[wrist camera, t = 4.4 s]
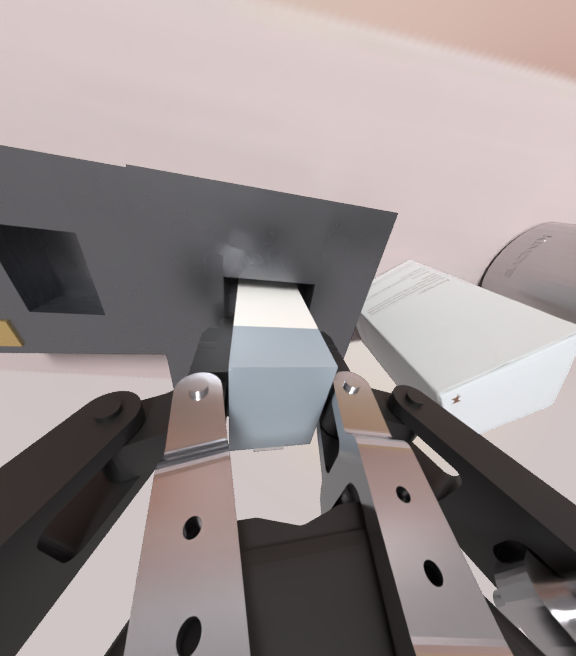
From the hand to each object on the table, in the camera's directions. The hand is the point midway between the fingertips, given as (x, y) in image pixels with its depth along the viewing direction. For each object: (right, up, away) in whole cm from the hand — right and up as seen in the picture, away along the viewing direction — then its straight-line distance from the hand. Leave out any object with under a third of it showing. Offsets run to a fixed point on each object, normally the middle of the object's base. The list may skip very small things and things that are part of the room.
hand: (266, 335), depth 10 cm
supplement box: (+11, +3, +12) cm, 17 cm away
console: (-8, +5, +7) cm, 12 cm away
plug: (-1, +2, +3) cm, 4 cm away
